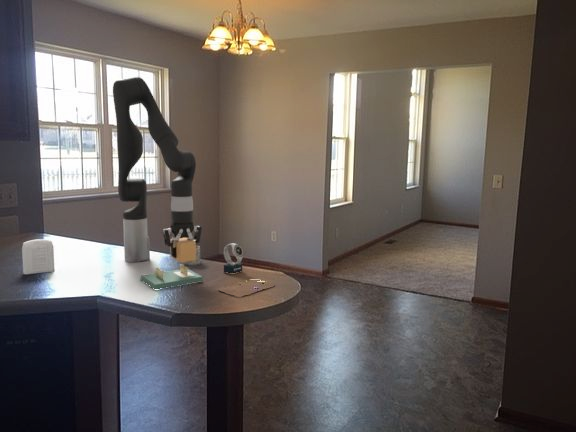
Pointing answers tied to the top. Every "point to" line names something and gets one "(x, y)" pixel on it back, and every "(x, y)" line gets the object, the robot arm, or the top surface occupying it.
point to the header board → (171, 277)
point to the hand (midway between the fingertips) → (182, 256)
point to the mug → (194, 260)
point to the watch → (238, 253)
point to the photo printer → (38, 256)
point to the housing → (185, 250)
